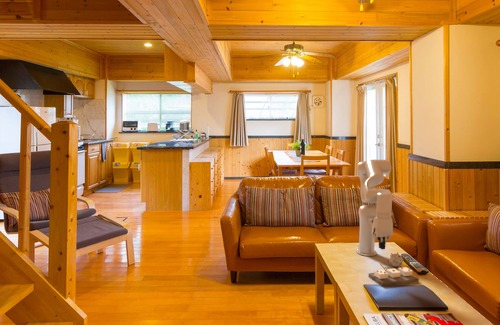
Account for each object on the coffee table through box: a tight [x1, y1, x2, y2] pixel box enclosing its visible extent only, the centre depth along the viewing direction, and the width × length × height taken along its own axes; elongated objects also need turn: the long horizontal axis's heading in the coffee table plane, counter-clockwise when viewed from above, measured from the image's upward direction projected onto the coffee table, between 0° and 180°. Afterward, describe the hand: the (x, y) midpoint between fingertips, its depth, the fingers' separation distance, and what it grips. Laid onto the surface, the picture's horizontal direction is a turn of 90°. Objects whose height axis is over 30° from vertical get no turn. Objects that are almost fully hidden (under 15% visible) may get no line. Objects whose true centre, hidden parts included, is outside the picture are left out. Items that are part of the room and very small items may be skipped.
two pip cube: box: [397, 266, 414, 276], centre depth 182 cm, size 5×5×3 cm
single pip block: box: [385, 267, 401, 278], centre depth 180 cm, size 5×5×3 cm
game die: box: [388, 252, 405, 269], centre depth 198 cm, size 9×8×10 cm
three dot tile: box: [373, 269, 388, 279], centre depth 178 cm, size 5×5×3 cm
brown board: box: [368, 272, 420, 288], centre depth 180 cm, size 12×22×2 cm, turn 104°
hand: (381, 248), depth 181 cm, fingers closed
